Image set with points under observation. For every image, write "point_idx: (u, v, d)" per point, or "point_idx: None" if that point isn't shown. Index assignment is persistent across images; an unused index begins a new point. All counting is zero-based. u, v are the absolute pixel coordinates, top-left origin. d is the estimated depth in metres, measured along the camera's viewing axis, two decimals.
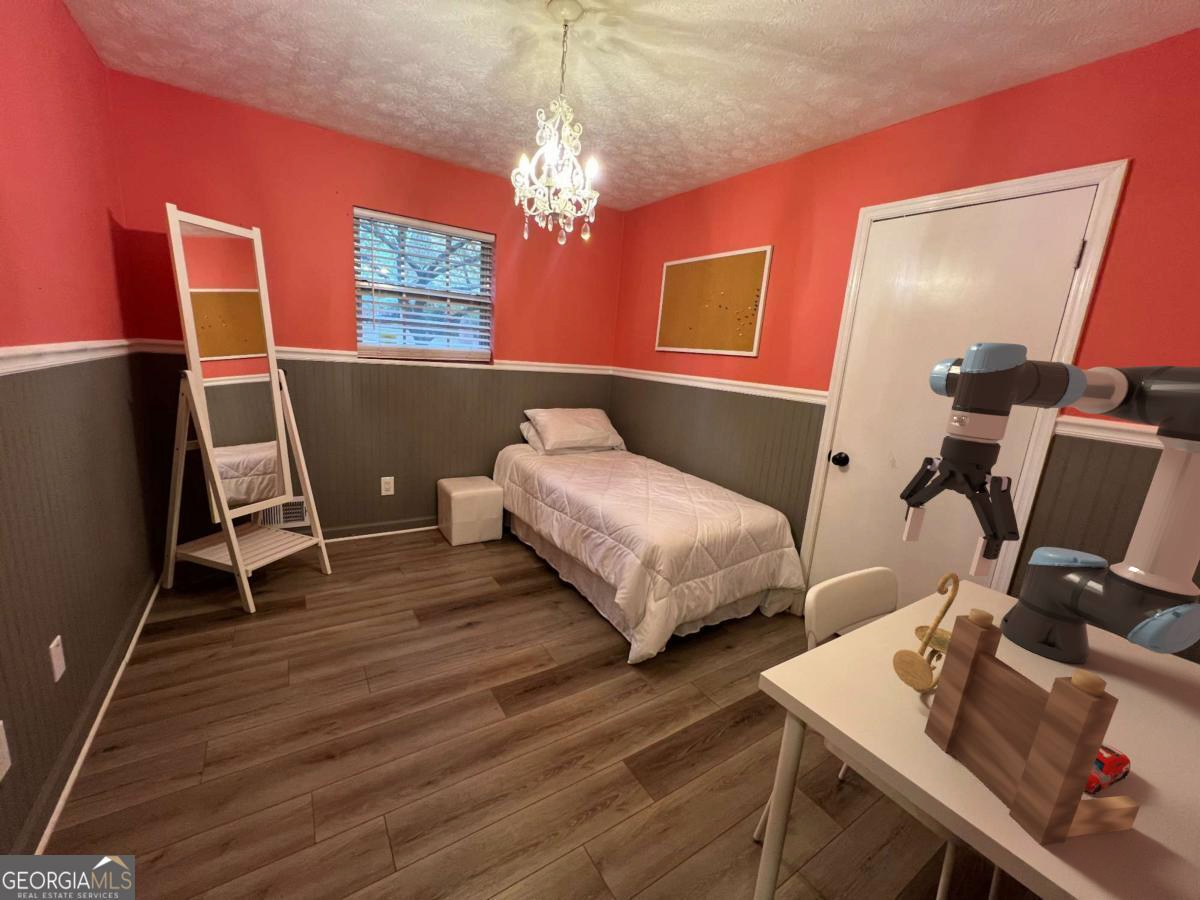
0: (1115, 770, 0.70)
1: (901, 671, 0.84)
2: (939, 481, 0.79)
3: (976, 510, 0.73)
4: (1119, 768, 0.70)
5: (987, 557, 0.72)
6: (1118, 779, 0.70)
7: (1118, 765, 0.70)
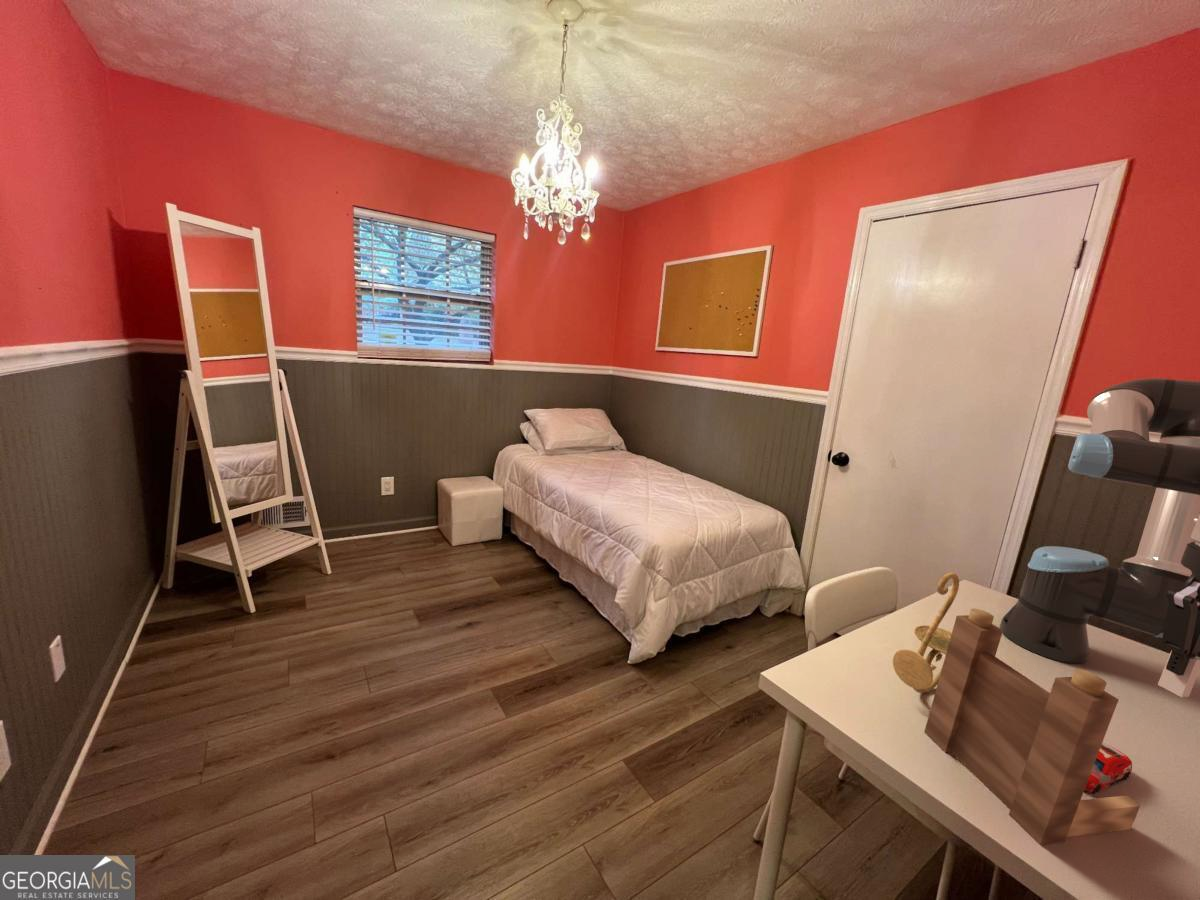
0: (1115, 771, 0.69)
1: (901, 671, 0.84)
2: None
3: None
4: (1120, 769, 0.70)
5: None
6: (1119, 780, 0.70)
7: (1119, 766, 0.70)
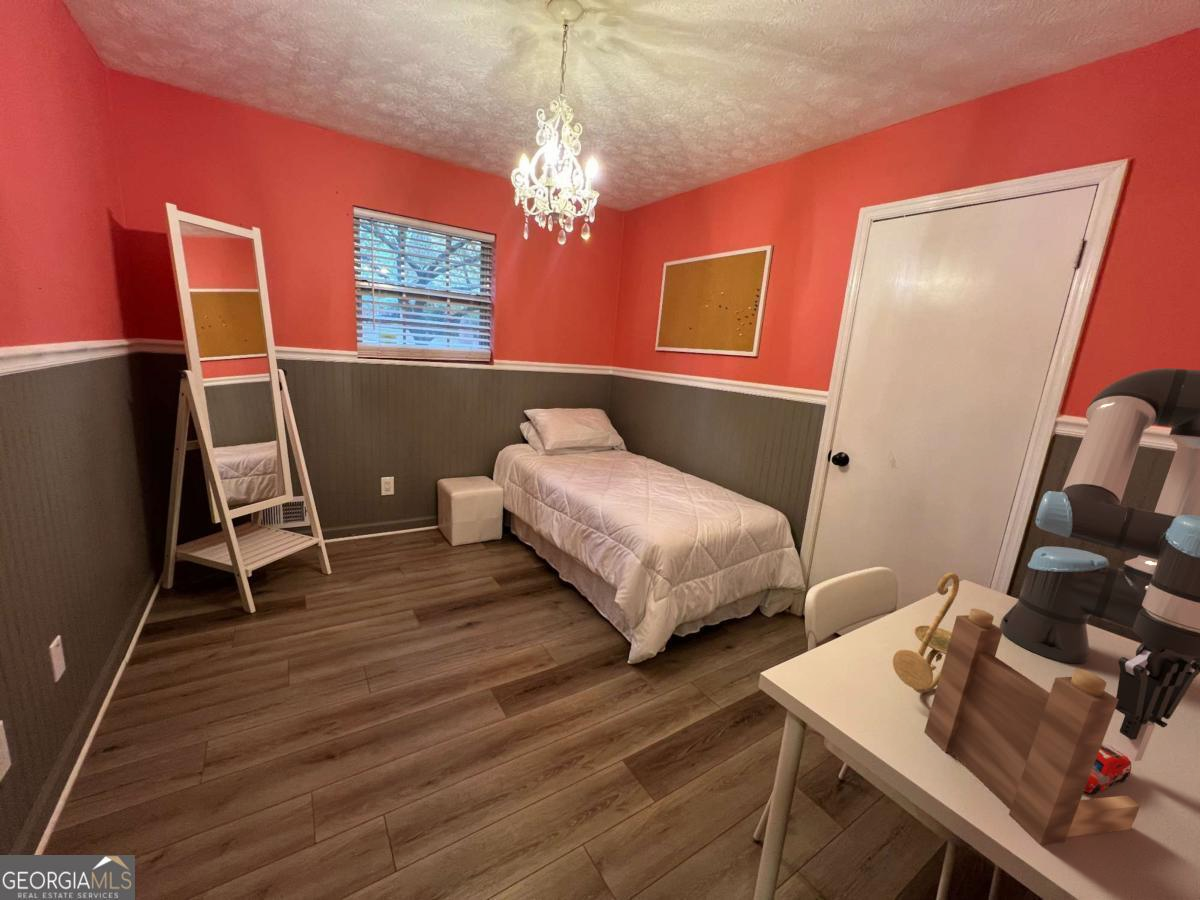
0: (1114, 771, 0.69)
1: (901, 671, 0.84)
2: None
3: None
4: (1119, 769, 0.69)
5: None
6: (1118, 780, 0.70)
7: (1118, 767, 0.70)
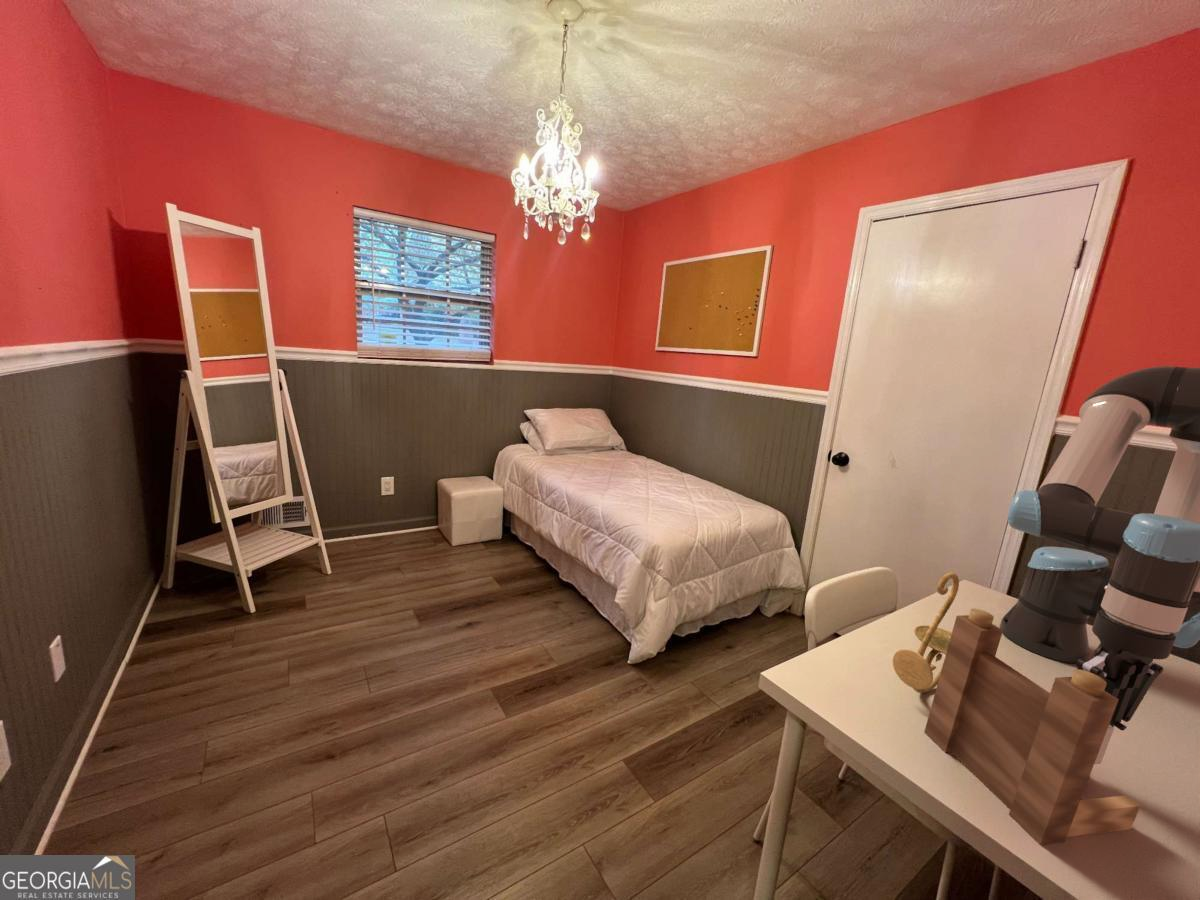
0: None
1: (901, 671, 0.84)
2: None
3: None
4: None
5: None
6: None
7: None
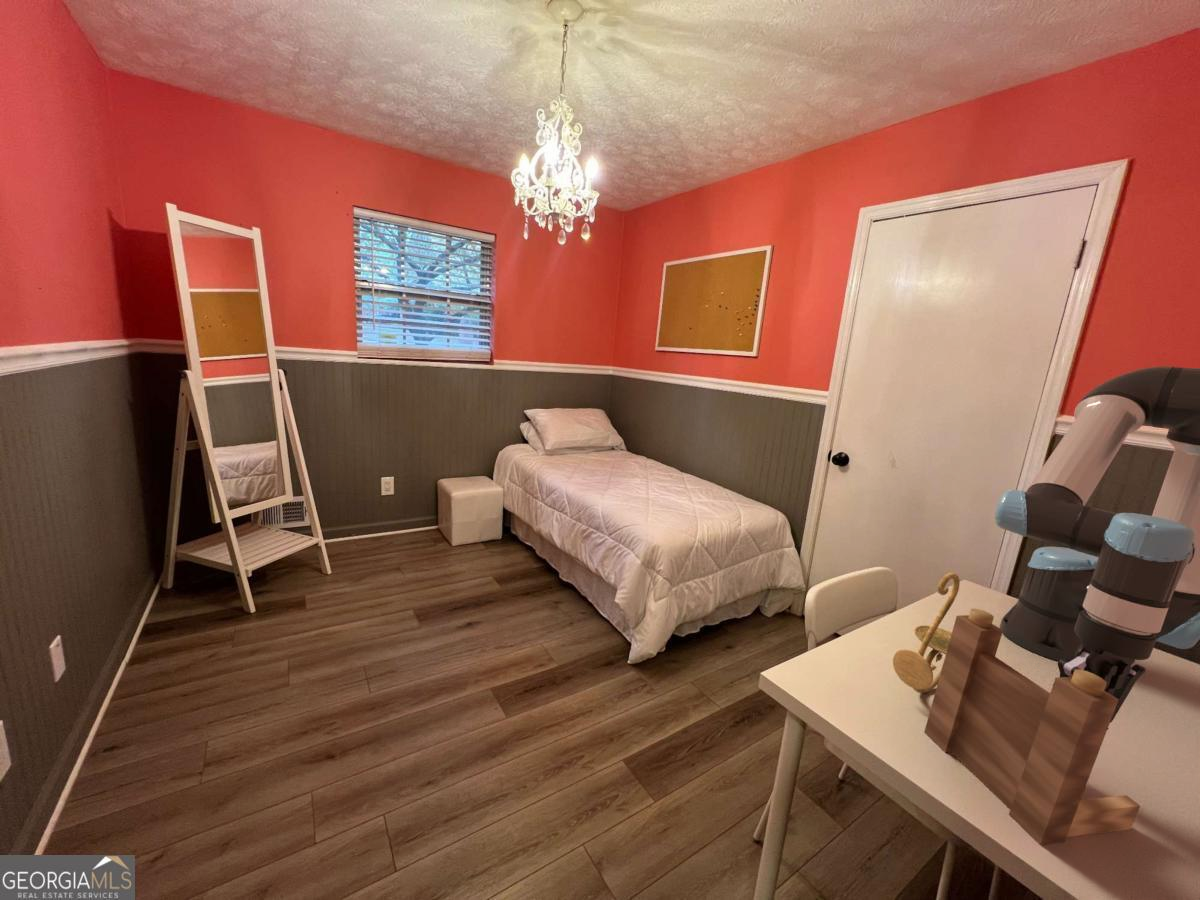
0: None
1: (901, 671, 0.84)
2: None
3: None
4: None
5: None
6: None
7: None
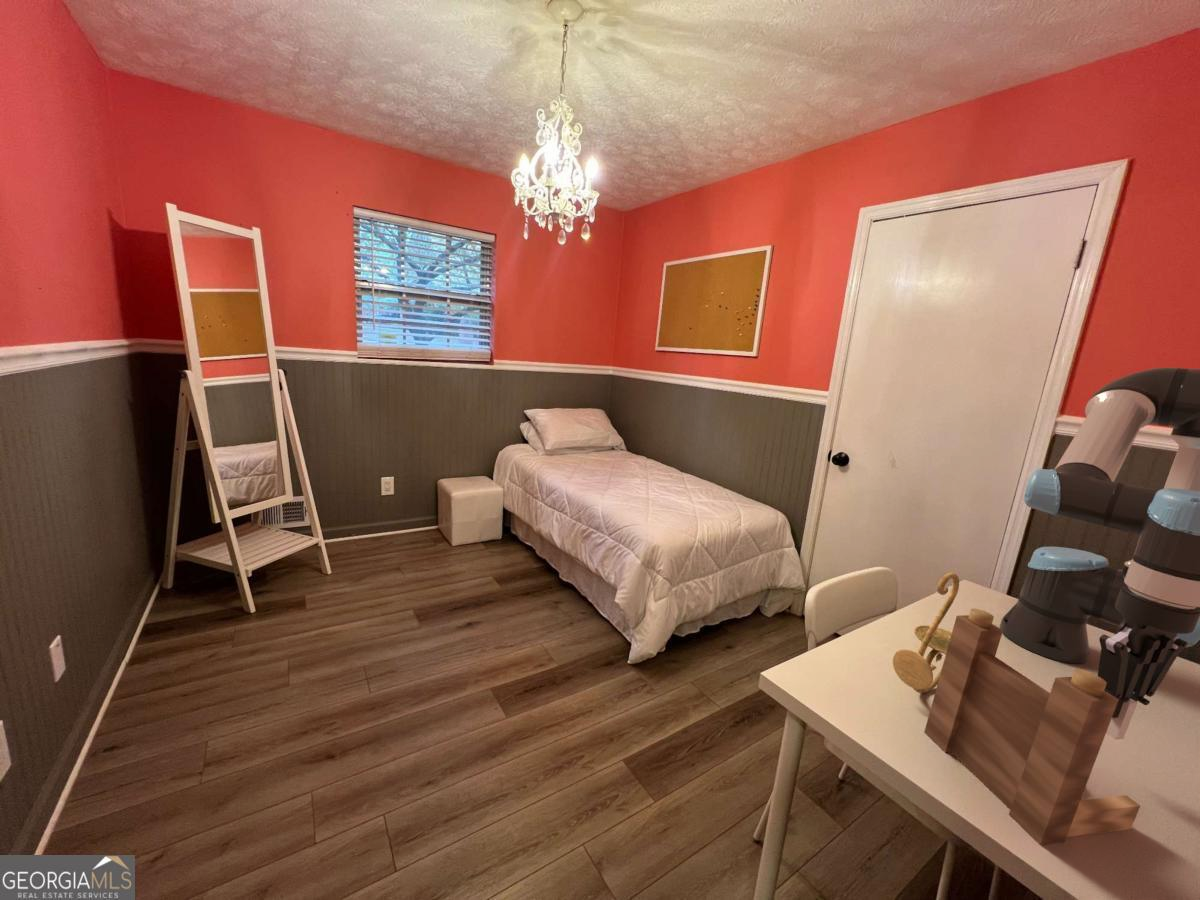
0: None
1: (901, 671, 0.84)
2: None
3: None
4: None
5: None
6: None
7: None
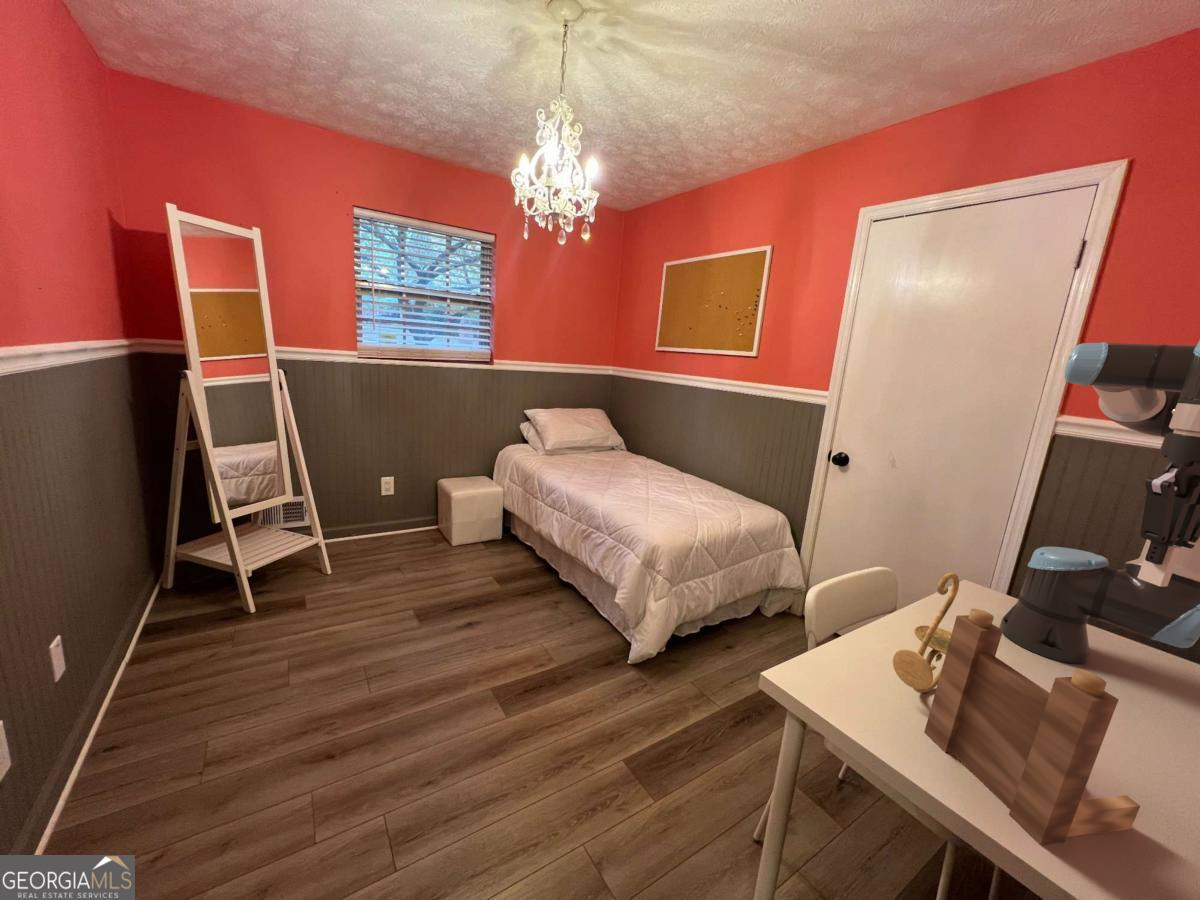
0: None
1: (901, 671, 0.84)
2: None
3: None
4: None
5: None
6: None
7: None
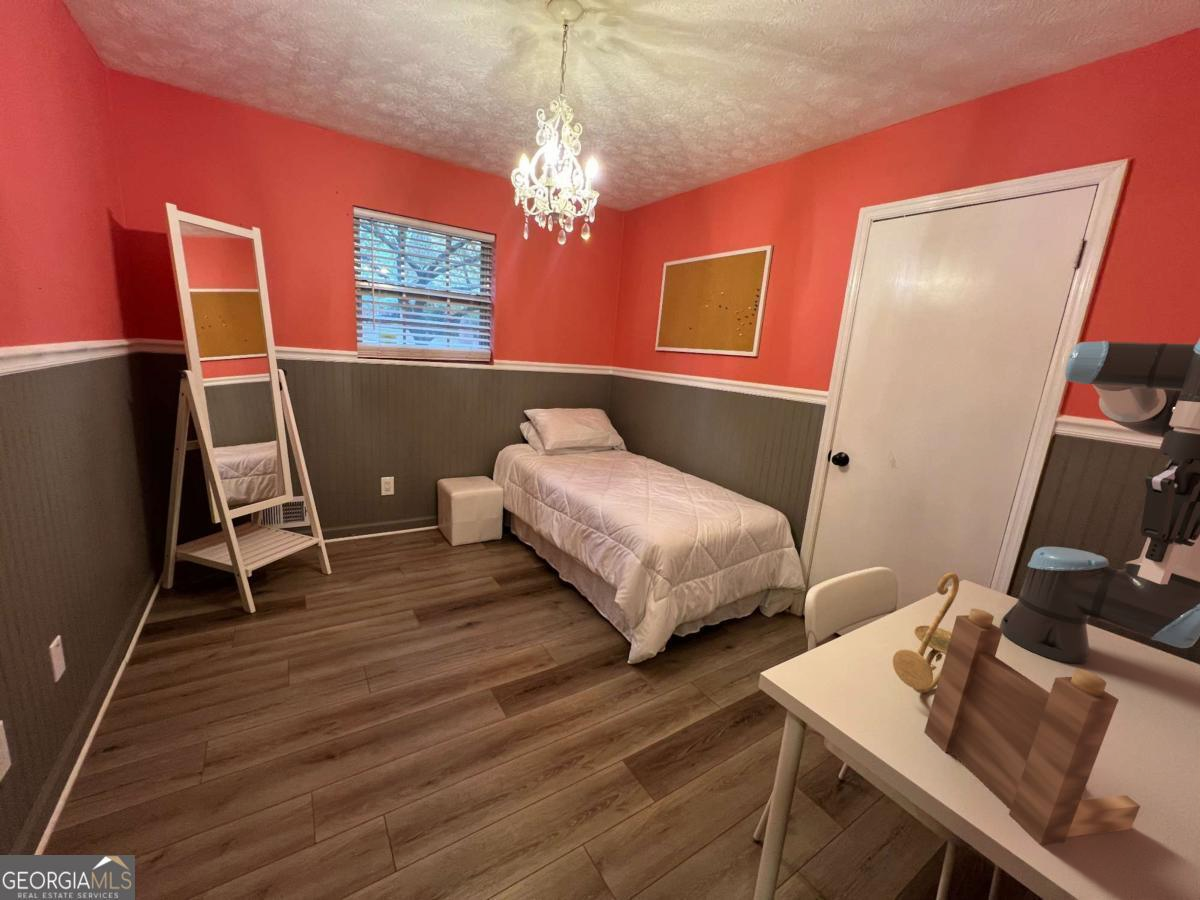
0: None
1: (901, 671, 0.84)
2: None
3: None
4: None
5: None
6: None
7: None
